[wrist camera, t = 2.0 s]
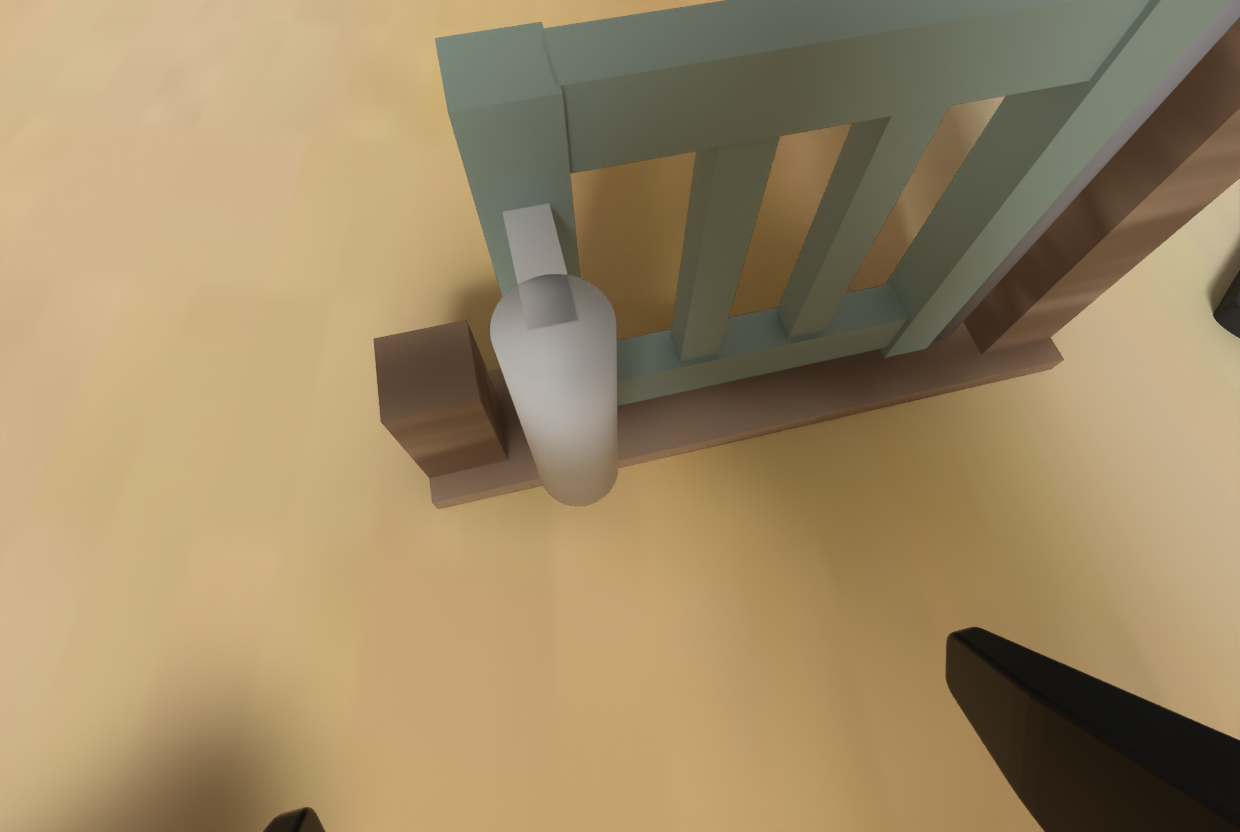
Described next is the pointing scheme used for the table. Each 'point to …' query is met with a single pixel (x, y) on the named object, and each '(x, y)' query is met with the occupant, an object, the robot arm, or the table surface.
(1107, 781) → the robot arm
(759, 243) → the table surface
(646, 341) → the gate leaf
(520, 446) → the gate frame
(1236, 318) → the smart home device
